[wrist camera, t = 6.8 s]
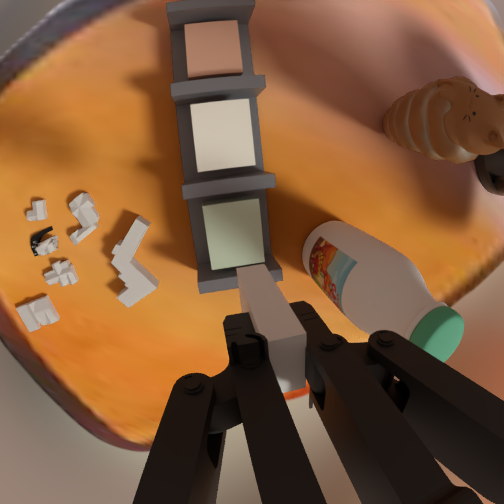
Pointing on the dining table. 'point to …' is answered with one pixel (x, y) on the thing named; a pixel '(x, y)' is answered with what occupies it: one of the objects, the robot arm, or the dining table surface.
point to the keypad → (185, 94)
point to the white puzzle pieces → (63, 272)
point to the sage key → (234, 231)
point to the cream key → (222, 134)
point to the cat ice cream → (448, 121)
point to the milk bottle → (379, 288)
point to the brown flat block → (213, 50)
